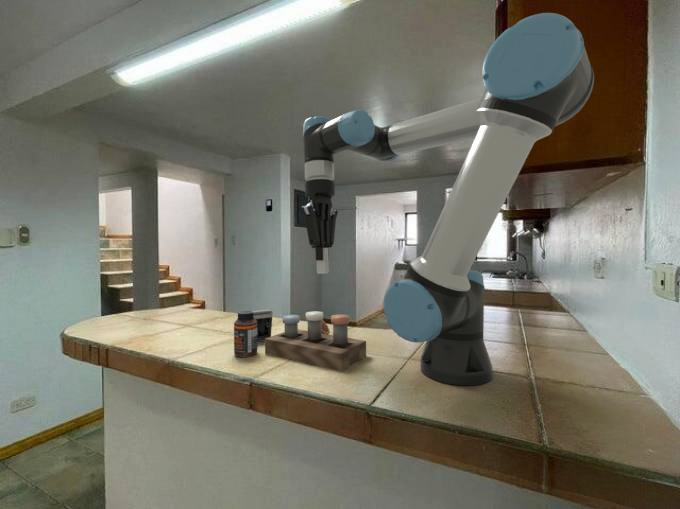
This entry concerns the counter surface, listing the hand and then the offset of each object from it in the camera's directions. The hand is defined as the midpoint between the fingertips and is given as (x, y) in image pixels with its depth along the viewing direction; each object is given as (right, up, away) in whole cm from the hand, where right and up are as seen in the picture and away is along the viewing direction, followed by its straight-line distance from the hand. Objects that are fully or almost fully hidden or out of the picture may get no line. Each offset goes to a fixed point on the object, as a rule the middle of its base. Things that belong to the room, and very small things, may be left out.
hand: (322, 273), depth 83 cm
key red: (+4, -17, -2) cm, 18 cm away
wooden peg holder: (-2, -22, +2) cm, 22 cm away
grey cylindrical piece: (-9, -19, +7) cm, 22 cm away
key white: (-2, -17, +2) cm, 17 cm away
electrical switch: (-21, -22, +16) cm, 34 cm away
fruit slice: (-2, -21, +19) cm, 29 cm away
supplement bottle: (-21, -22, +3) cm, 30 cm away
